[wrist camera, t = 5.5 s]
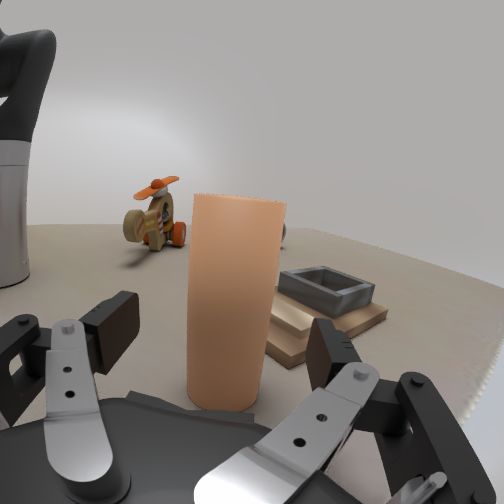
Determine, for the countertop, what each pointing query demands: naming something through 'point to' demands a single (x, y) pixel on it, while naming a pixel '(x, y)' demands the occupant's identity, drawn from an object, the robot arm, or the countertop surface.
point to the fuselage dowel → (230, 297)
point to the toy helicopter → (155, 218)
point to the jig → (317, 309)
